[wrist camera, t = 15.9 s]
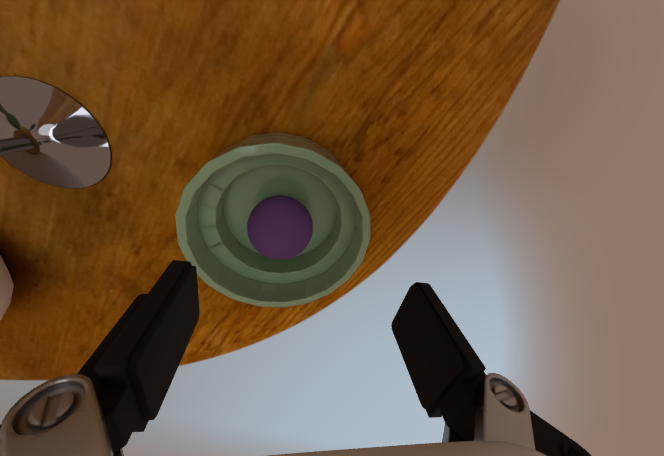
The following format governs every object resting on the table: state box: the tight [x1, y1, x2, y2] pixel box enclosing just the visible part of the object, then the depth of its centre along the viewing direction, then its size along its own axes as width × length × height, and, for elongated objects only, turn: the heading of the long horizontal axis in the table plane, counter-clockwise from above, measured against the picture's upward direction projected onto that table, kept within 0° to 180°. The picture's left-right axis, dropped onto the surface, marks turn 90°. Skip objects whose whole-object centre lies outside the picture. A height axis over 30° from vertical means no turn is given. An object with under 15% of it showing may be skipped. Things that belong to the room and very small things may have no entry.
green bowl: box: [175, 132, 370, 307], centre depth 19 cm, size 13×13×5 cm
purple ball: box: [247, 195, 313, 260], centre depth 18 cm, size 5×5×5 cm
